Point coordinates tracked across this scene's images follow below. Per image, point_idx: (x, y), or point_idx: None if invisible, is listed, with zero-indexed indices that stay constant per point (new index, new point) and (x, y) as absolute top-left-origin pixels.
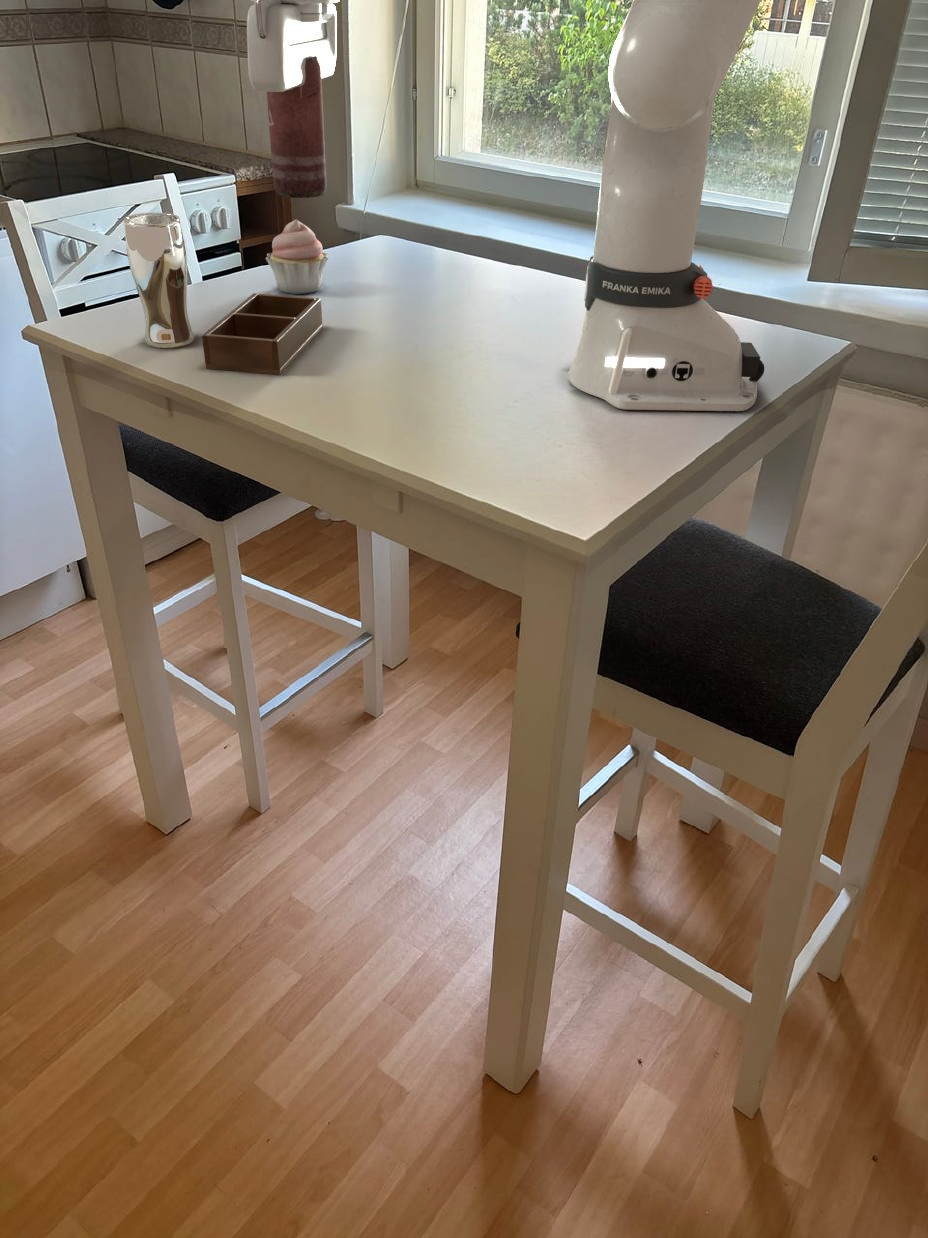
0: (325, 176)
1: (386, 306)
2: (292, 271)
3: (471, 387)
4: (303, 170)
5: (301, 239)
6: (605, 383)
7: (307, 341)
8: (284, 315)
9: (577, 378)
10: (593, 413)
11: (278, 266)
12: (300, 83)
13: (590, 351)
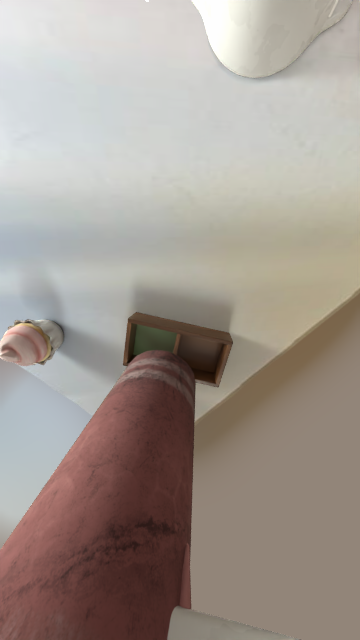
0: (158, 358)
1: (75, 266)
2: (55, 343)
3: (264, 188)
4: (193, 395)
5: (26, 345)
6: (326, 14)
7: (170, 320)
8: (133, 339)
9: (282, 60)
10: (345, 53)
11: (53, 354)
12: (235, 637)
13: (306, 6)
